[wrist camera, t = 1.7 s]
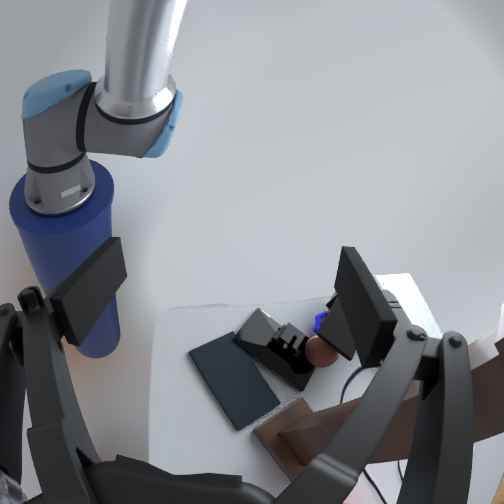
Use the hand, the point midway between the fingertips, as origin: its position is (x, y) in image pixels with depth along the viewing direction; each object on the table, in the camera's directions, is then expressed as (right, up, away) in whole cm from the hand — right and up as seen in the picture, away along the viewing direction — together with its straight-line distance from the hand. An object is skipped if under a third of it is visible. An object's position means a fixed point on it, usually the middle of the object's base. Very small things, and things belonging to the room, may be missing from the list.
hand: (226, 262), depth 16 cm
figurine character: (+13, -13, +28) cm, 33 cm away
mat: (-1, -16, +18) cm, 24 cm away
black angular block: (+5, -14, +23) cm, 27 cm away
